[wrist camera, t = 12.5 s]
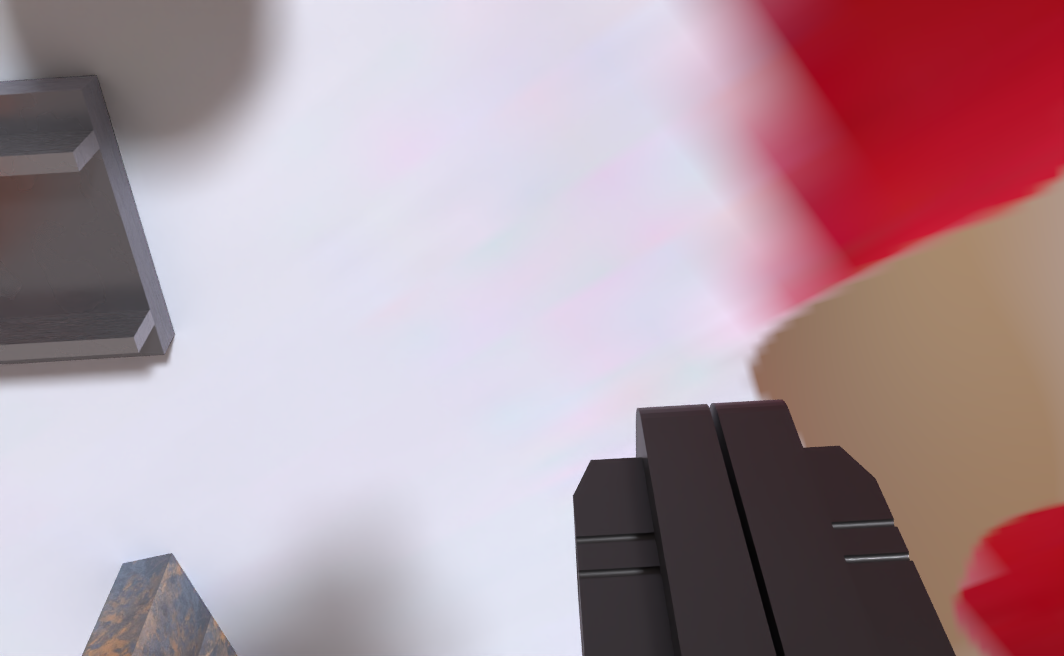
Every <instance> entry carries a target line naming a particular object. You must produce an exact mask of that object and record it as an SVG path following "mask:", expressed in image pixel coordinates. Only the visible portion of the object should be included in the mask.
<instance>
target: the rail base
mask: <svg viewBox="0 0 1064 656" xmlns="http://www.w3.org/2000/svg"><path fill="white" fill-rule="evenodd" d="M174 335H175V333H174V330H173V327H172V323H171V320H170V317H169V313H168V310H167V307H166V304H165V300H164V297H163V294H162V290H161V287H160V284H159V280H158V277H157V274H156V270H155V267H154V264H153V260H152V257H151V254H150V251H149V247H148V244H147V241H146V237H145V234H144V231H143V227H142V224H141V221H140V217H139V214H138V211H137V207H136V204H135V201H134V197H133V194H132V191H131V188H130V184H129V181H128V178H127V174H126V171H125V168H124V164H123V161H122V158H121V154H120V151H119V148H118V144H117V141H116V138H115V135H114V131H113V128H112V125H111V121H110V118H109V115H108V111H107V108H106V105H105V101H104V98H103V95H102V91H101V88H100V85H99V82H98V78H97V75H93V76H77V77H62V78H47V79H31V80H16V81H0V364H14V363H31V362H48V361H65V360H82V359H99V358H116V357H133V356H150V355H164V354H165V352H166V350H167V348H168V346H169V344H170V342H171V341H172V339H173V337H174Z"/></svg>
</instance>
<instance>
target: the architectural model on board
mask: <svg viewBox="0 0 1064 656" xmlns="http://www.w3.org/2000/svg"><path fill="white" fill-rule="evenodd" d="M82 656H237V654H236V652H235V651H234V649H233V648H232V646H231V645H230V643H229V642H228V640H227V638H226V637H225V635H224V634H223V632H222V631H221V629H220V627H219V626H218V624H217V623H216V621H215V620H214V618H213V616H212V615H211V613H210V612H209V610H208V609H207V607H206V606H205V604H204V602H203V601H202V599H201V598H200V596H199V595H198V593H197V591H196V590H195V588H194V587H193V585H192V584H191V582H190V580H189V579H188V577H187V576H186V574H185V573H184V571H183V569H182V568H181V566H180V565H179V563H178V562H177V560H176V559H175V557H174V555H173V554H172V553H171V554H166V555H161V556H156V557H152V558H147V559H142V560H137V561H133V562H128V563H123V564H122V567H121V569H120V571H119V573H118V576H117V578H116V580H115V582H114V585H113V587H112V589H111V591H110V594H109V596H108V598H107V600H106V603H105V605H104V607H103V609H102V612H101V614H100V616H99V618H98V621H97V623H96V625H95V627H94V630H93V632H92V634H91V636H90V639H89V641H88V643H87V645H86V648H85V650H84V652H83V654H82Z"/></svg>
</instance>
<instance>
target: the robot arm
mask: <svg viewBox="0 0 1064 656" xmlns="http://www.w3.org/2000/svg"><path fill="white" fill-rule="evenodd" d="M573 505H574V524H575V543H576V563H577V582H578V601H579V615H580V630H581V643H582V656H956V655H955V653H954V651H953V648H952V646H951V644H950V642H949V640H948V637H947V635H946V633H945V631H944V629H943V627H942V624H941V622H940V620H939V618H938V616H937V613H936V611H935V609H934V607H933V604H932V602H931V600H930V598H929V596H928V594H927V591H926V589H925V587H924V585H923V582H922V580H921V578H920V576H919V573H918V571H917V569H916V567H915V565H914V562H913V561H910V559H909V551H908V549H907V547H906V545H905V543H904V540H903V538H902V536H901V534H900V532H899V529H898V527H895V526H894V519H893V516H892V514H891V512H890V509H889V507H888V505H887V503H886V501H885V498H884V496H883V494H882V492H881V490H880V488H879V485H878V483H877V481H876V479H875V478H874V477H873V476H872V475H871V474H870V473H869V472H868V471H866V470H865V469H864V468H863V467H862V466H861V465H860V464H859V463H858V462H857V461H856V460H854V459H853V458H852V457H851V456H850V455H849V454H848V453H847V452H846V451H845V450H844V449H842V448H841V447H840V446H827V447H810V448H803V446H802V444H801V441H800V438H799V436H798V433H797V430H796V428H795V425H794V422H793V420H792V417H791V415H790V412H789V409H788V407H787V405H786V403H785V402H784V401H783V400H763V401H746V402H728V403H712V404H711V405H710V408H709V406H708V405H707V404H699V405H681V406H664V407H647V408H637V411H636V458H620V459H602V460H591V461H590V463H589V465H588V467H587V469H586V471H585V473H584V475H583V477H582V479H581V481H580V483H579V485H578V487H577V489H576V491H575V493H574V495H573Z"/></svg>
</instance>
